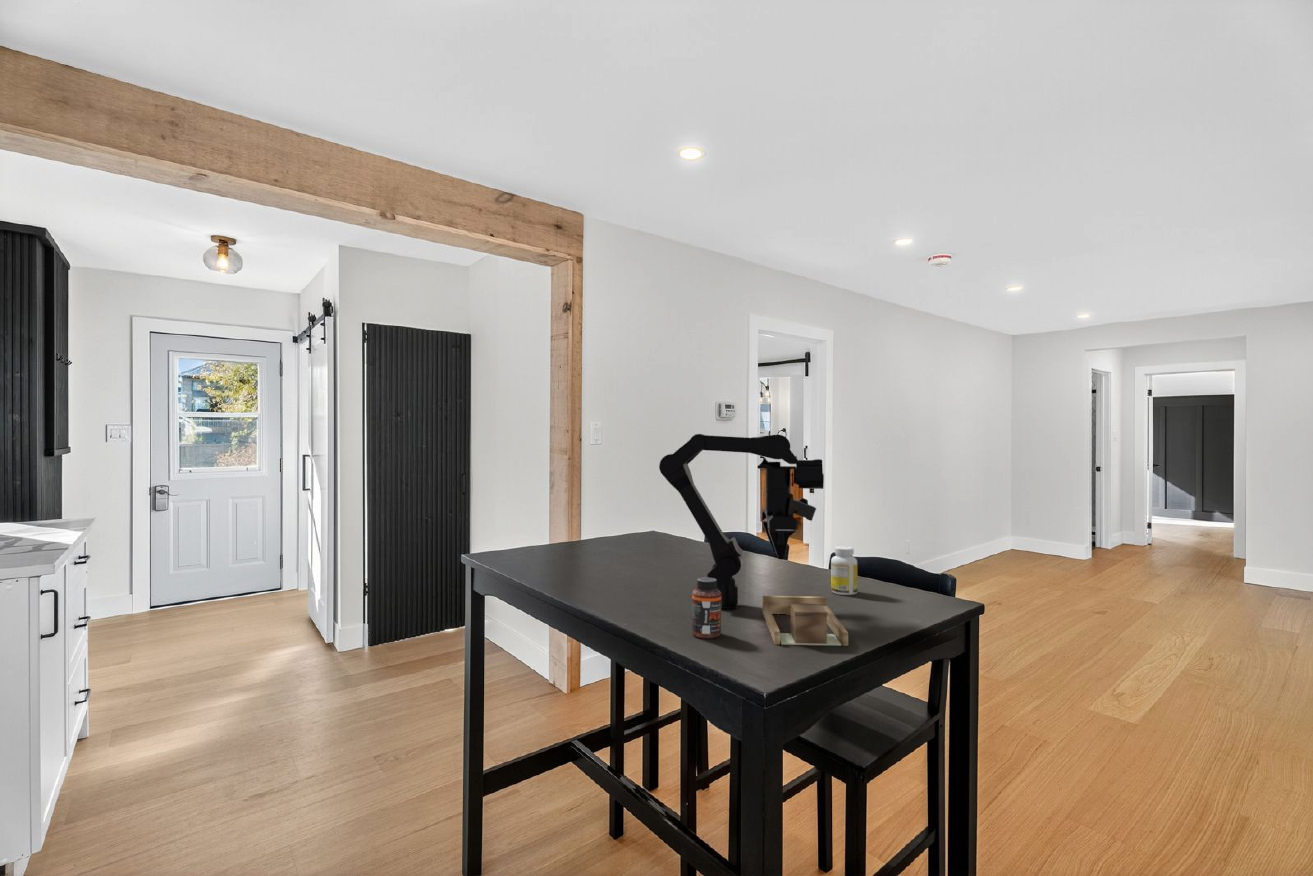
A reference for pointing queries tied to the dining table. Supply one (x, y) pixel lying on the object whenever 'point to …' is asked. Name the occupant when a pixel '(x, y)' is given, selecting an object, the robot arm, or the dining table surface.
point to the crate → (808, 623)
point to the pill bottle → (844, 571)
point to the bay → (783, 607)
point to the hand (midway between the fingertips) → (778, 555)
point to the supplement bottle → (706, 609)
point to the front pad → (788, 640)
